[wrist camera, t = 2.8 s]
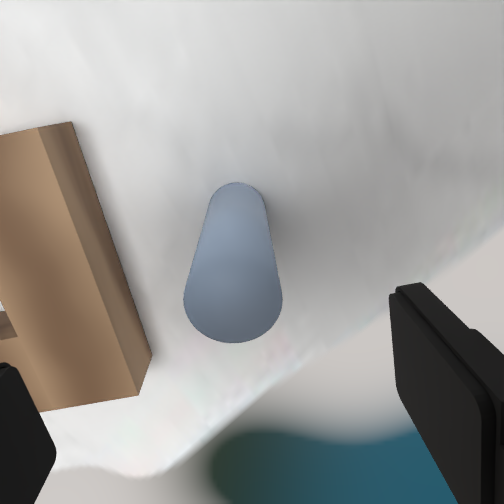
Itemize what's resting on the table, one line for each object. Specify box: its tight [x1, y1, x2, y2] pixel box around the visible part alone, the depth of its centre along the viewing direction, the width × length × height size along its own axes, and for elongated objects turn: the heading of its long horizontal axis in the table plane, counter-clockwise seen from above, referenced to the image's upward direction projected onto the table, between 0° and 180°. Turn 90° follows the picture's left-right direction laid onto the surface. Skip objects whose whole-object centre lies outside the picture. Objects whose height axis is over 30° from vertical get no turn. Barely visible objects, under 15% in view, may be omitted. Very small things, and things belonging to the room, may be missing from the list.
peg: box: [183, 183, 282, 343], centre depth 17 cm, size 3×3×10 cm
